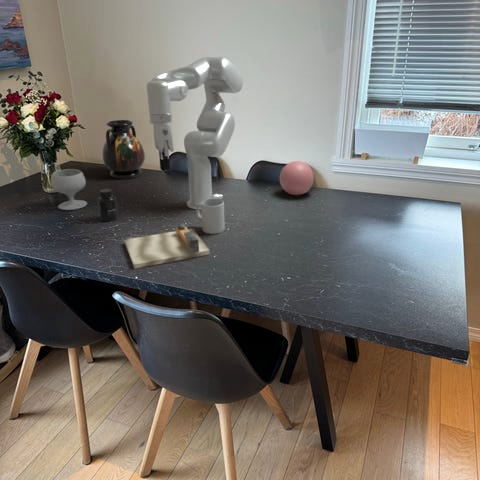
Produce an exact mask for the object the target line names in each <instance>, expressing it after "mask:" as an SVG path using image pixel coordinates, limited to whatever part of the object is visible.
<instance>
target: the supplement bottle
mask: <svg viewBox="0 0 480 480" xmlns="http://www.w3.org/2000/svg"><path fill="white" fill-rule="evenodd" d="M99 196H100V197H98V198H97V204H98V209H99V217H100V220H101V221H103V222H114V221H116V220H117V219H118V217H119V214H118V207H117V206H118V205H117V199H116V197H115V196H114V193H113V190H112V189H111V188H104V189H100V190H99Z"/></svg>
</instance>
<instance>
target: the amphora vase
mask: <svg viewBox="0 0 480 480" xmlns="http://www.w3.org/2000/svg"><path fill="white" fill-rule="evenodd" d="M106 126H107V127H109V129H107V130H106V133H105V142H104V144H103V147H102V161H103V163H104V165H105V167H106V168H107V169H108V170H110V173H109V175H110V176H111V177H112V178H114V179H119V180H127V179H128V180H129V179H133V178H137V177H139V176H141V174H142V173H143V172H142V169H141V168H142V166H143V165H144V163H145V160H146V156H145V151H144V147H143V145H142V143H141V142H140V140H139V139H137V135H136V128H135V127H134V125H133V121H132V120H127V119H118V120H112V121H111V120H110V121H107V122H106ZM130 129H131V130H130Z"/></svg>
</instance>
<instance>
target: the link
mask: <svg viewBox="0 0 480 480" xmlns="http://www.w3.org/2000/svg"><path fill="white" fill-rule="evenodd" d="M187 229H188V227H187V226H185V229H182V230H180V229H178V226H177V227H176V228H175V231H176V234H177V235H179V236H180V237H181V238H182V239H183V241H184V242H185V243H186V245H187V246H188V244H187V239H186V238H185V236H184V233H185V232H188V231H187Z"/></svg>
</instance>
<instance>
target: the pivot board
mask: <svg viewBox="0 0 480 480" xmlns="http://www.w3.org/2000/svg"><path fill="white" fill-rule="evenodd" d="M177 227H178V229H180V230H182V229H185V227H186V225H185V223H184V224H183V223H180V224H179V223H178V225H177ZM187 231H188V232H185V233H184V236H185V238H186V239H187V244H188V246H187V245H186V243H185V242H184V241H183V239H182V238H181V237H180V236H179V235H177V234H176V230H174V231H169V232H162V233H157V234H151V235H146V236H144V235H143V236H140V237H133V238H128V239H123V240H124V245H125V248H126V250H127V254H128V255H129V259H130V260H131V263H132V266H133V268H134V269H141V268H146V267H151V266H156V265H163V264H167V263H170V262H171V263H172V262H176V261H181V260H189V259H192V258H193V259H194V258H196V257H203V256H208V255H211V254H210V253H211V252H210V248H208V246H207V245H206V244H205V243H204V241H203V240H202V238H201V237H200V236H199V235H198V233H197V232H196V231H195V230H194V228H187Z"/></svg>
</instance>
